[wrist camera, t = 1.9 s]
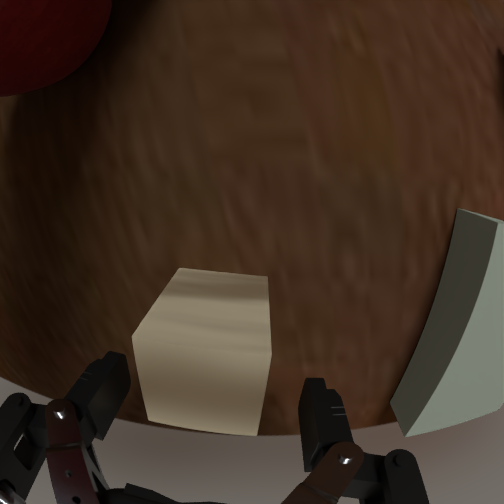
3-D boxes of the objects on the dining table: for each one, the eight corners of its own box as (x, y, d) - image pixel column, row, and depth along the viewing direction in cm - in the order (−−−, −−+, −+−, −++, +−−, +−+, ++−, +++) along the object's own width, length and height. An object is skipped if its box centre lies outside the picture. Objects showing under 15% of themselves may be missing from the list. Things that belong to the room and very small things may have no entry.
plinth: (457, 208, 14) (498, 222, 10) (541, 233, 14) (571, 247, 10) (389, 402, 19) (404, 437, 15) (481, 385, 19) (498, 409, 15)
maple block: (179, 267, 16) (131, 336, 9) (267, 276, 16) (271, 354, 9) (181, 339, 18) (148, 420, 11) (258, 348, 18) (256, 436, 11)
